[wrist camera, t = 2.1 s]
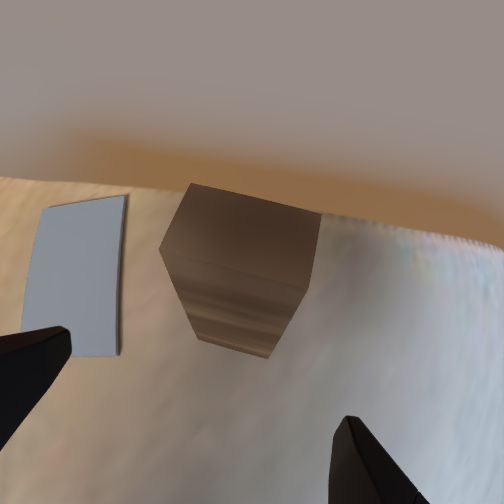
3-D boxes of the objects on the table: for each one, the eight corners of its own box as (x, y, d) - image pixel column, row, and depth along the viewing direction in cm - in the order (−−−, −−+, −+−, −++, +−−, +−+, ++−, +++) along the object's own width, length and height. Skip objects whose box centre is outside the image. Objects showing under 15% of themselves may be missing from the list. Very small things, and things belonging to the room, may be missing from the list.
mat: (118, 356, 20) (115, 354, 19) (23, 354, 19) (19, 353, 18) (126, 199, 26) (124, 195, 26) (45, 212, 25) (42, 209, 25)
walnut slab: (267, 358, 20) (308, 288, 10) (197, 339, 21) (158, 248, 10) (277, 319, 22) (321, 214, 11) (210, 300, 22) (190, 183, 11)
